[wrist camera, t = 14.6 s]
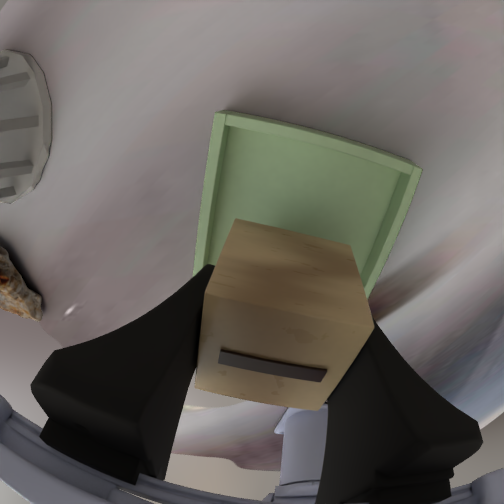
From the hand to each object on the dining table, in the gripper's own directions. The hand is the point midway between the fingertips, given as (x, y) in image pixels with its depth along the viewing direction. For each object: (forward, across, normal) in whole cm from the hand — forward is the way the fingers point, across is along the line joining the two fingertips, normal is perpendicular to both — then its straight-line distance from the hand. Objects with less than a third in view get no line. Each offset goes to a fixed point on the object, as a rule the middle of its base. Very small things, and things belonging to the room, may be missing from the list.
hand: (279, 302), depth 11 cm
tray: (+8, -1, +2) cm, 8 cm away
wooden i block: (+1, 0, 0) cm, 1 cm away
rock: (+8, +26, +13) cm, 30 cm away
